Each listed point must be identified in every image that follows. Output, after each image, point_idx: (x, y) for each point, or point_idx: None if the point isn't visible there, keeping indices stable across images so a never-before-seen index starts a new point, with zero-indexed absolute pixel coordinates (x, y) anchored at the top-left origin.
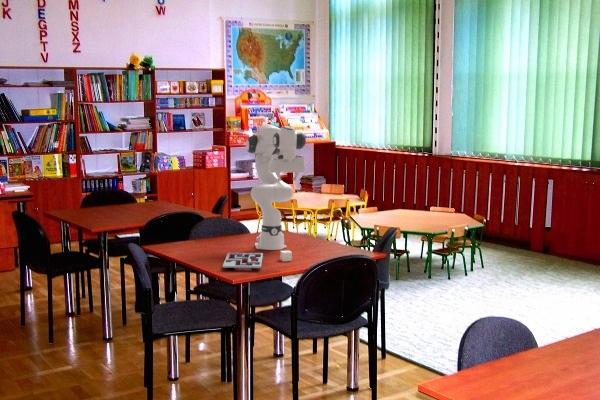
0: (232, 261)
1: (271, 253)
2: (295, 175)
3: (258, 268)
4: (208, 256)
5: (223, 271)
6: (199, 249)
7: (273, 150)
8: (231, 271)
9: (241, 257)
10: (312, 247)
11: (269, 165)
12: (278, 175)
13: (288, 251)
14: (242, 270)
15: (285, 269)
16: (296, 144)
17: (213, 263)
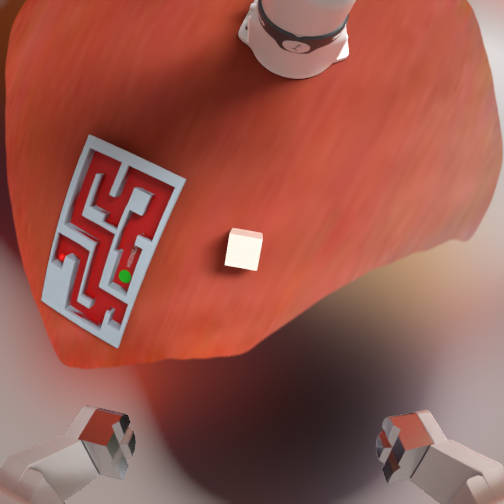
0: (66, 263)
1: (251, 119)
2: (446, 474)
3: (120, 325)
4: (61, 105)
5: None
6: (85, 9)
7: None
8: None
9: (99, 221)
10: (424, 99)
11: None
12: (57, 493)
13: (251, 254)
14: (85, 313)
15: (188, 350)
16: None
17: (44, 202)
